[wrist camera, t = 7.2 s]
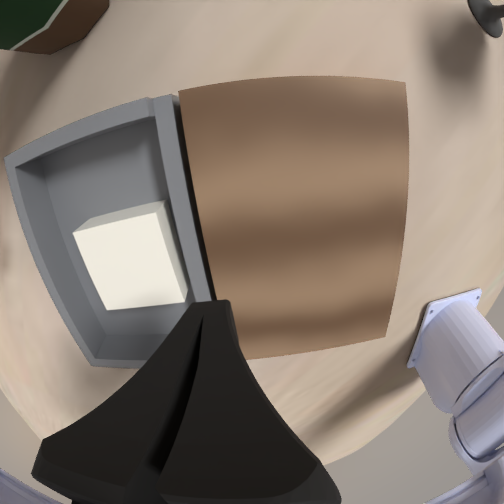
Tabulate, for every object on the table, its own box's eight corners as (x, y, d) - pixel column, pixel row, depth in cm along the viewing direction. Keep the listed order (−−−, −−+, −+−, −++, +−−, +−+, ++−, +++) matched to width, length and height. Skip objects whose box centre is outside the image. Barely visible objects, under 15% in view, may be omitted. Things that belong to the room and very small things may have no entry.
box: (227, 334, 22) (225, 366, 19) (104, 339, 23) (91, 365, 20) (181, 97, 14) (165, 92, 11) (33, 148, 14) (3, 157, 11)
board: (372, 313, 22) (385, 336, 19) (233, 334, 22) (232, 360, 20) (381, 85, 14) (405, 82, 11) (189, 95, 14) (178, 91, 11)
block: (190, 280, 19) (184, 302, 17) (118, 290, 20) (106, 310, 17) (167, 199, 17) (155, 212, 14) (90, 218, 17) (72, 232, 15)
